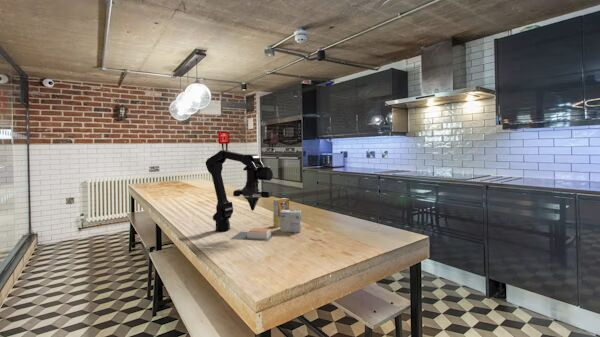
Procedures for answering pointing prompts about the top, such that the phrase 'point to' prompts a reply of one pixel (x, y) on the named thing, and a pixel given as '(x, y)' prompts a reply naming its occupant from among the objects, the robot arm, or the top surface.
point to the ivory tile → (259, 233)
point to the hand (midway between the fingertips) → (252, 210)
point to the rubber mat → (244, 237)
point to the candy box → (279, 209)
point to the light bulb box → (290, 220)
